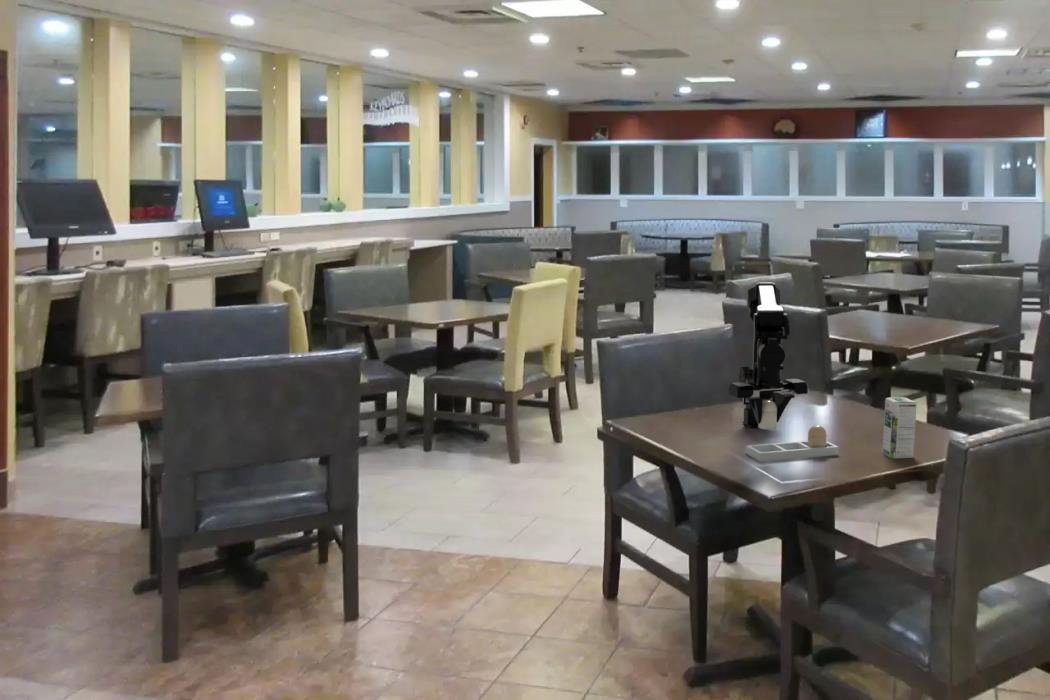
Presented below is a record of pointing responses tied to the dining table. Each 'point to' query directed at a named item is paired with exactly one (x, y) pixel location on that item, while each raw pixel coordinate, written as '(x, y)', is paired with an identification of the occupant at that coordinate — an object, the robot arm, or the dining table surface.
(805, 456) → the divided compartment tray
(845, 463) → the dining table surface
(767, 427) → the white capsule shape
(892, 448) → the syrup box
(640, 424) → the dining table surface
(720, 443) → the dining table surface
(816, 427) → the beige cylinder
